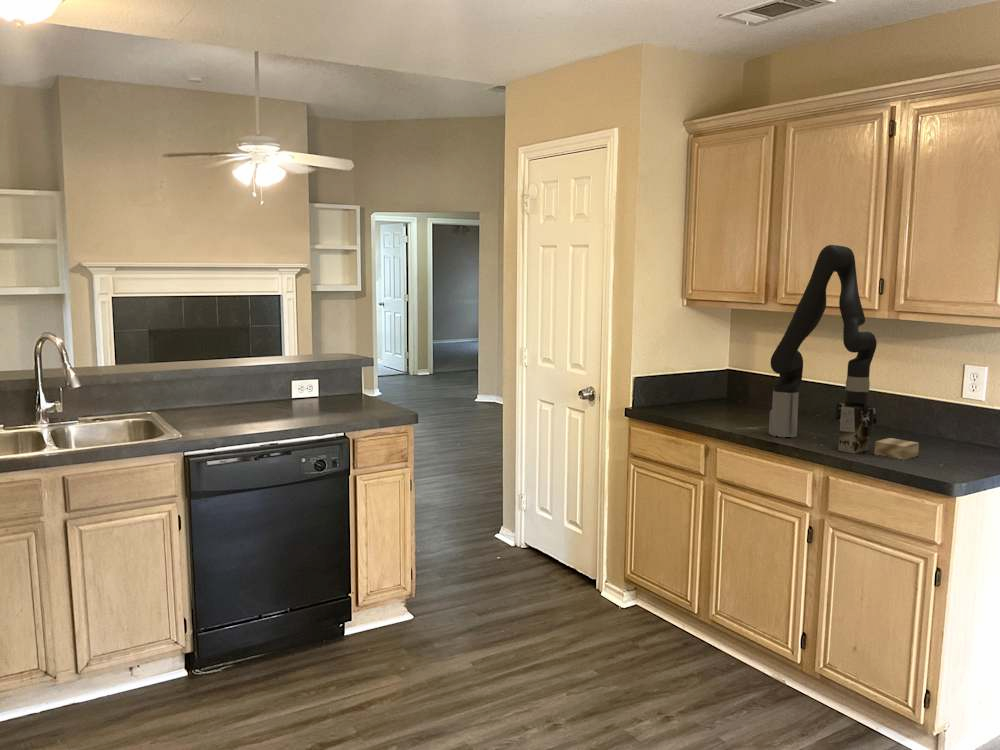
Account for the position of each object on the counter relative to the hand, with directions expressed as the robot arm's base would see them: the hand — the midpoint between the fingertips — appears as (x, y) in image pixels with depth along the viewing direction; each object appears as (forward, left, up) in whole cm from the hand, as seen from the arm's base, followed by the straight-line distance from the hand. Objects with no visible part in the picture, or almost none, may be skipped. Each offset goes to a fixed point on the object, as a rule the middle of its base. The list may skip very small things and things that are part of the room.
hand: (854, 435), depth 274 cm
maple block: (+12, +6, -6) cm, 15 cm away
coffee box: (0, 0, -6) cm, 6 cm away
